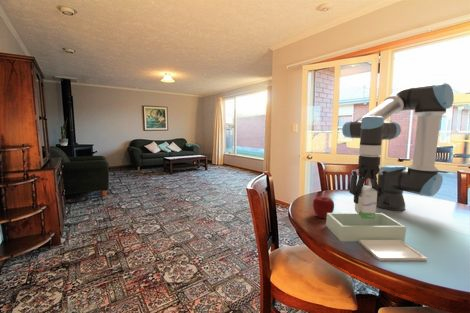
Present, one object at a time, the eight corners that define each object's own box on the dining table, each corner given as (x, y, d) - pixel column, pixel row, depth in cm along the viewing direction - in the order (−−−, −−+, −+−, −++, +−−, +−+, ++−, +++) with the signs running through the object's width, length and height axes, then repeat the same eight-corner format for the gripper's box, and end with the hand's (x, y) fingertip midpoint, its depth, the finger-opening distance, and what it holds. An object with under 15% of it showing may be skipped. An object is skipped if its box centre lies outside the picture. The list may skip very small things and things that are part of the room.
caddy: (380, 225, 103) (382, 213, 102) (404, 241, 89) (406, 226, 88) (326, 225, 102) (326, 212, 102) (341, 241, 88) (342, 226, 88)
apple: (314, 211, 119) (315, 193, 117) (334, 215, 114) (335, 196, 113) (310, 218, 111) (311, 198, 109) (331, 222, 106) (333, 201, 104)
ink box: (355, 211, 99) (356, 184, 98) (367, 211, 98) (369, 184, 97) (362, 219, 91) (363, 190, 89) (376, 219, 90) (377, 190, 88)
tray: (399, 242, 88) (400, 239, 88) (426, 261, 76) (426, 257, 76) (359, 242, 88) (359, 239, 87) (379, 261, 76) (379, 257, 76)
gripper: (386, 154, 95) (381, 207, 98) (341, 154, 95) (338, 207, 98) (399, 156, 88) (393, 213, 91) (351, 156, 87) (347, 214, 91)
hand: (365, 210), depth 95 cm, fingers closed on ink box, 6 cm apart
